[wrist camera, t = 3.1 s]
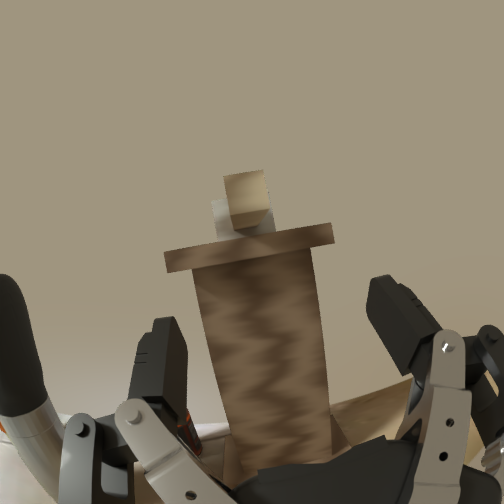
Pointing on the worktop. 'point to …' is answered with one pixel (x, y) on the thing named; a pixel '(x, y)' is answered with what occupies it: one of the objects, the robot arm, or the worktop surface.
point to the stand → (266, 347)
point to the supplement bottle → (190, 435)
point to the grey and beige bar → (243, 207)
